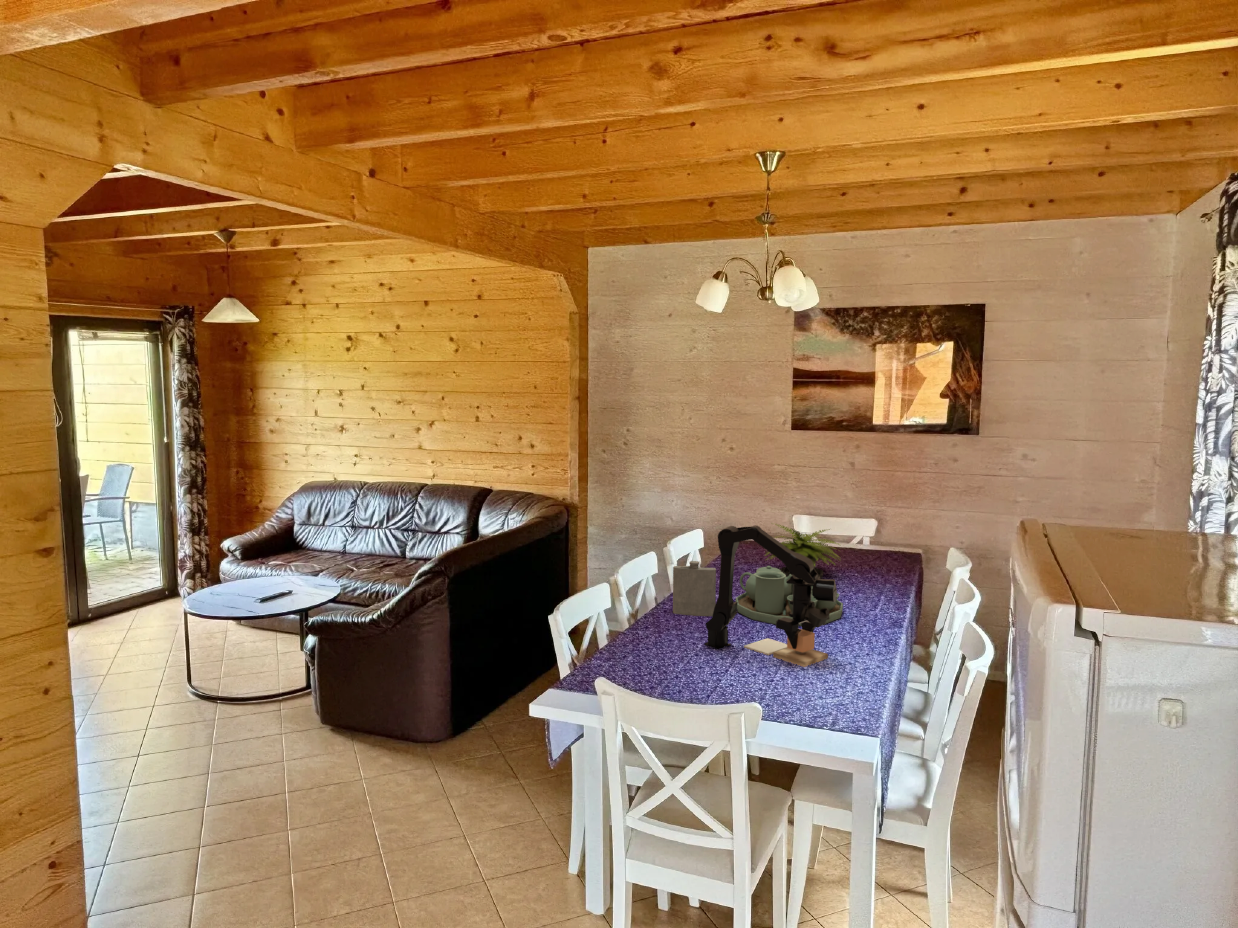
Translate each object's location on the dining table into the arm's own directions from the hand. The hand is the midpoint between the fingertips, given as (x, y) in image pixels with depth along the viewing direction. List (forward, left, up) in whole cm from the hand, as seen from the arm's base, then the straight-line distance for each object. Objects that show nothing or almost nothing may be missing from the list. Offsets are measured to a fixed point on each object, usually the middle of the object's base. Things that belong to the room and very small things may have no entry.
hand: (800, 646), depth 262 cm
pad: (0, +13, -4) cm, 13 cm away
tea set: (+40, +35, -4) cm, 53 cm away
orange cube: (0, 0, 0) cm, 0 cm away
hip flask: (+9, +55, -4) cm, 56 cm away
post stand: (0, 0, -4) cm, 4 cm away
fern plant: (+89, +65, -4) cm, 110 cm away
